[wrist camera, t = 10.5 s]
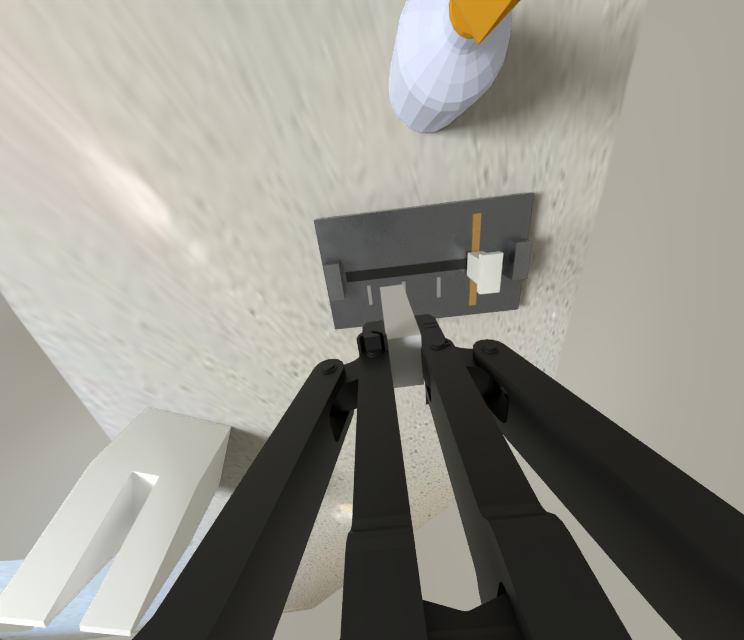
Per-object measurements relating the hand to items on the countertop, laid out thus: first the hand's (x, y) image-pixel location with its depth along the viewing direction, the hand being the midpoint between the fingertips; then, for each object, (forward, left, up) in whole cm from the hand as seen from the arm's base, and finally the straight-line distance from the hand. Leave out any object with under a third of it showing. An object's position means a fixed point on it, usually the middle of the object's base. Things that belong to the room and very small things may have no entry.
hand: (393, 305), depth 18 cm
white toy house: (+37, -44, -23) cm, 61 cm away
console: (+4, +6, -22) cm, 23 cm away
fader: (+3, +13, -20) cm, 24 cm away
